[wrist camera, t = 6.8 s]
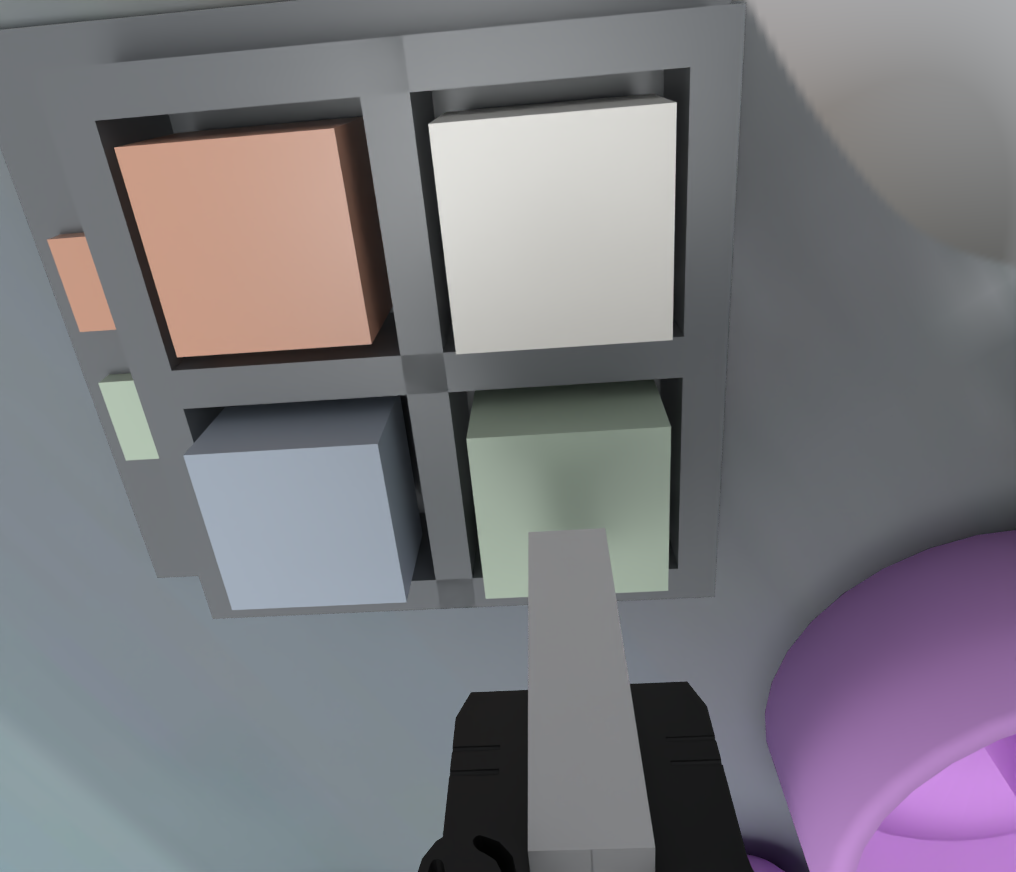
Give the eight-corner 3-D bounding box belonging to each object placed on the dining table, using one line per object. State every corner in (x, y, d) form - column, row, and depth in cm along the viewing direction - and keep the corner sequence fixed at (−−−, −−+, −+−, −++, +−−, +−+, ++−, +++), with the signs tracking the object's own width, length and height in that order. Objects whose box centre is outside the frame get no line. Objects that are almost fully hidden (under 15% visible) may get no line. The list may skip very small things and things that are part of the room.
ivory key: (653, 93, 16) (676, 102, 13) (652, 297, 18) (673, 340, 16) (445, 111, 16) (428, 123, 14) (467, 310, 18) (455, 354, 16)
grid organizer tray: (727, -41, 17) (777, -65, 14) (703, 540, 24) (731, 624, 21) (-25, 34, 18) (-160, 30, 15) (165, 566, 26) (105, 650, 22)
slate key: (399, 390, 20) (377, 444, 17) (422, 533, 22) (406, 602, 19) (230, 400, 20) (183, 455, 17) (269, 541, 22) (232, 610, 19)
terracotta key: (364, 116, 17) (333, 128, 15) (393, 304, 20) (371, 343, 17) (177, 132, 18) (113, 147, 15) (225, 315, 20) (176, 357, 17)
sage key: (651, 374, 19) (671, 426, 16) (651, 522, 21) (668, 590, 18) (475, 385, 19) (466, 438, 17) (491, 530, 21) (485, 598, 19)
